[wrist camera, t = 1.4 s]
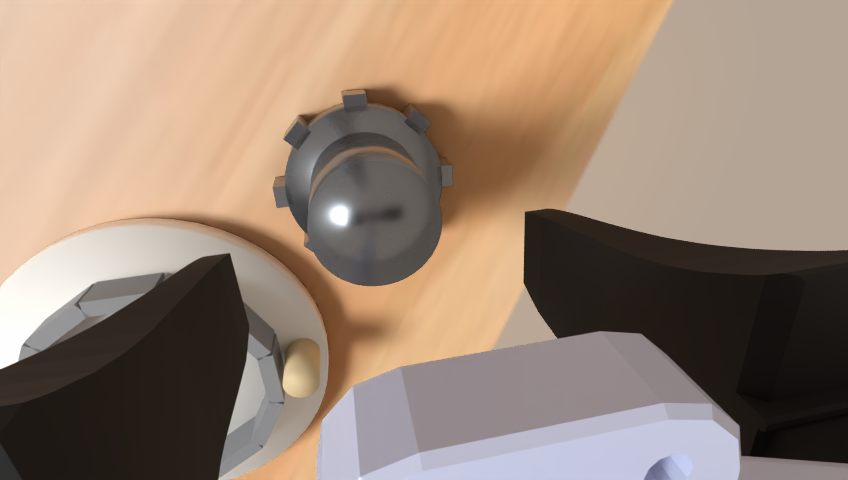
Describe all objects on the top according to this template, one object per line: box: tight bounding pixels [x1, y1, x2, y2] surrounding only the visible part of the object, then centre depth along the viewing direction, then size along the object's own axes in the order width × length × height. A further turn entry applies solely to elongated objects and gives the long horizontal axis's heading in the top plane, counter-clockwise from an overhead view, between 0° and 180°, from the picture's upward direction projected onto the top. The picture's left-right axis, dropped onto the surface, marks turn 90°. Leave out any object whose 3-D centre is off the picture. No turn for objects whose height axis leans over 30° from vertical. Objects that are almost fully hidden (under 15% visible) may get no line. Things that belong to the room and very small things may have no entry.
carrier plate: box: [0, 218, 329, 480], centre depth 20 cm, size 13×13×3 cm
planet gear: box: [273, 89, 453, 286], centre depth 17 cm, size 7×7×5 cm
